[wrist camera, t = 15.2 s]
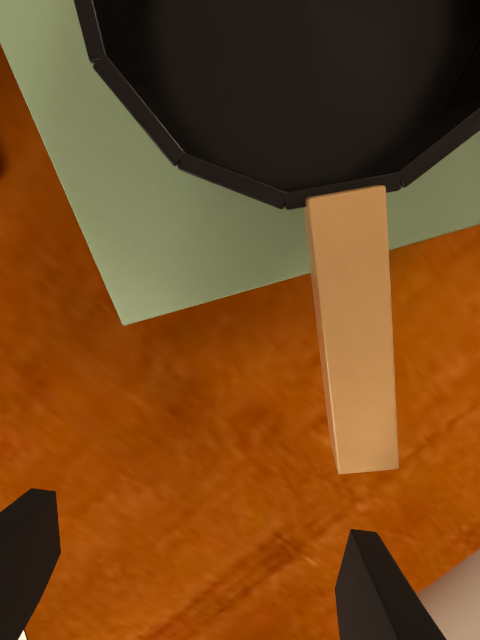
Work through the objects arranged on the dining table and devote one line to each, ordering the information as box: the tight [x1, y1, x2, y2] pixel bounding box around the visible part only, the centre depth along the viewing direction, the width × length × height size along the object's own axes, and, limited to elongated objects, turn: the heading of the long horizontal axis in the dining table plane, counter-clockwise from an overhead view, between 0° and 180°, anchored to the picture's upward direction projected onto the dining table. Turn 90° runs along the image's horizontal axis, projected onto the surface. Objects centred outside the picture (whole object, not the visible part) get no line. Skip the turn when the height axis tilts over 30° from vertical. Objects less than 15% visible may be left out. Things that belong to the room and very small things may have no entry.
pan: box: [74, 0, 480, 474], centre depth 9 cm, size 17×10×4 cm, turn 10°
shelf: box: [0, 0, 480, 325], centre depth 12 cm, size 14×13×6 cm
